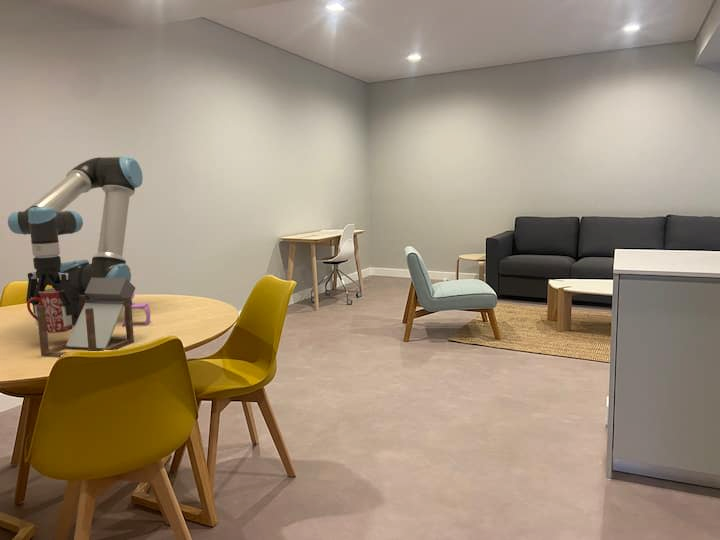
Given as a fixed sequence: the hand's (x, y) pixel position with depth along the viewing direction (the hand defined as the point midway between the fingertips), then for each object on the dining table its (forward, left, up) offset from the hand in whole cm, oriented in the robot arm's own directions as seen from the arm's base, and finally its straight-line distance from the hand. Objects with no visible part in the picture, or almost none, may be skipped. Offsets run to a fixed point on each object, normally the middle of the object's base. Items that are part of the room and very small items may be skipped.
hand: (54, 324), depth 175 cm
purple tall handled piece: (+10, +28, -7) cm, 31 cm away
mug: (0, 0, -3) cm, 3 cm away
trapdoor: (+15, +5, +1) cm, 16 cm away
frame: (+15, -3, -6) cm, 17 cm away
